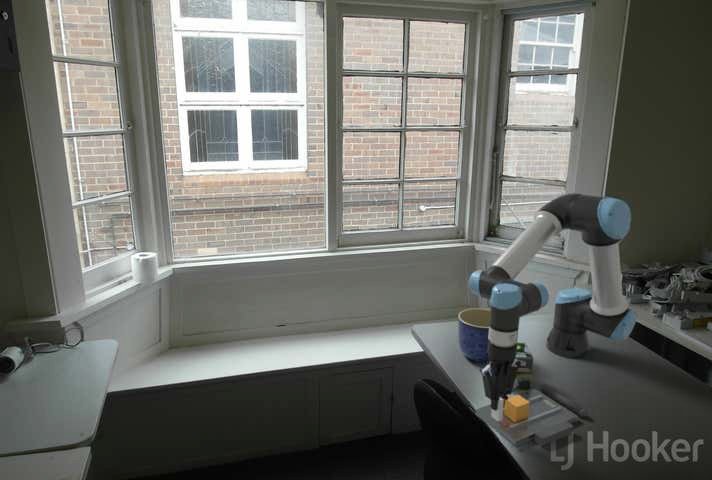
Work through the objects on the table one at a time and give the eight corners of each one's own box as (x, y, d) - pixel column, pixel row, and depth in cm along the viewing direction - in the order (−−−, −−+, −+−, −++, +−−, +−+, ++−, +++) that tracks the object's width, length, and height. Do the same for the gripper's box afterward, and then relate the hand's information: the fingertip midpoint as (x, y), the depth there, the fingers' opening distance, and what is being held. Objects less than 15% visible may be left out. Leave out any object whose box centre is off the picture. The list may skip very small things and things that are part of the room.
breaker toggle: (504, 414, 139) (505, 399, 138) (516, 409, 141) (518, 394, 140) (515, 422, 135) (516, 407, 134) (528, 417, 137) (529, 402, 136)
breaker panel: (475, 414, 142) (476, 407, 142) (534, 393, 153) (535, 386, 152) (515, 446, 128) (516, 438, 128) (577, 420, 139) (578, 413, 138)
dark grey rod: (541, 393, 153) (541, 386, 152) (546, 391, 154) (547, 384, 153) (582, 419, 139) (583, 412, 139) (588, 417, 140) (588, 410, 140)
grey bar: (534, 441, 130) (535, 433, 130) (565, 428, 135) (566, 421, 135) (541, 446, 128) (541, 438, 128) (572, 433, 133) (573, 425, 133)
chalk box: (525, 375, 163) (528, 335, 159) (531, 390, 154) (535, 348, 150) (497, 374, 164) (500, 334, 160) (501, 388, 155) (505, 347, 151)
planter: (501, 371, 166) (504, 330, 162) (452, 362, 172) (454, 323, 168) (505, 349, 181) (508, 311, 177) (460, 342, 187) (462, 305, 183)
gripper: (493, 352, 122) (487, 432, 128) (531, 341, 128) (523, 418, 134) (474, 340, 129) (469, 417, 135) (510, 331, 135) (504, 404, 141)
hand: (496, 418), depth 135 cm, fingers closed
